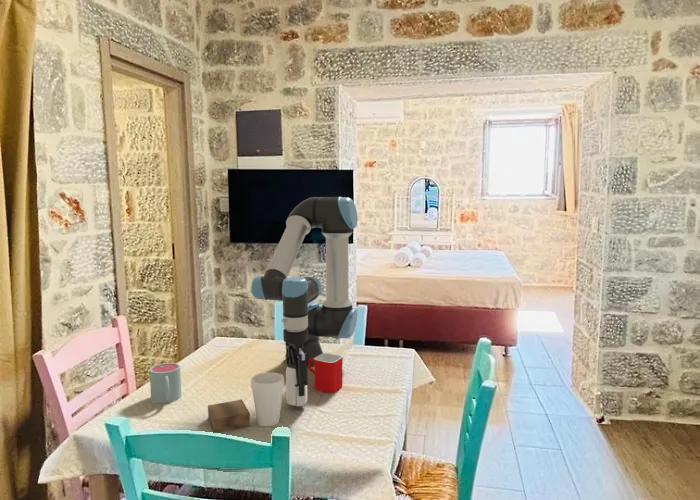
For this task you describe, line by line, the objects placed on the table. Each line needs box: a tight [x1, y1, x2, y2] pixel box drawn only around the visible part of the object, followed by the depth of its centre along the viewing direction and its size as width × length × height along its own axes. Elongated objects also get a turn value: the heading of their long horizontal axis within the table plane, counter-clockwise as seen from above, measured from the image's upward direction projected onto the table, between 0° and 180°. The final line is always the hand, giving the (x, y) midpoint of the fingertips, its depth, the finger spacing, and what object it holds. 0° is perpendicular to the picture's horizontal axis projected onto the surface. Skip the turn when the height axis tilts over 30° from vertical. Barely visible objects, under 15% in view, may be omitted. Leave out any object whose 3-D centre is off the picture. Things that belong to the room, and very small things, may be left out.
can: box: [285, 363, 308, 407], centre depth 152 cm, size 6×6×12 cm
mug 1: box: [149, 362, 182, 404], centre depth 157 cm, size 14×9×10 cm
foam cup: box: [250, 371, 285, 427], centre depth 142 cm, size 10×9×13 cm
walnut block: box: [207, 399, 251, 433], centre depth 142 cm, size 10×10×4 cm
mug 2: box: [308, 352, 344, 394], centre depth 168 cm, size 12×8×11 cm
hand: (296, 400), depth 152 cm, fingers closed on can, 6 cm apart
